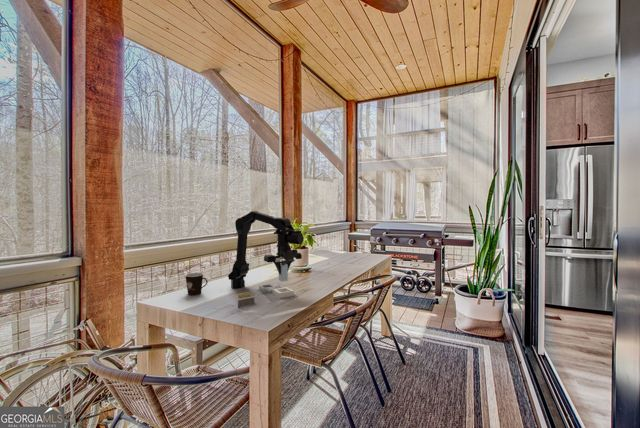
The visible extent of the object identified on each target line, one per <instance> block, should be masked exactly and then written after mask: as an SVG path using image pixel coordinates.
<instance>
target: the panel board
mask: <svg viewBox="0 0 640 428" xmlns="http://www.w3.org/2000/svg"><path fill="white" fill-rule="evenodd" d="M274 287H275V289H278V288H283V287H282V286H280V285H277V286H274ZM255 291H256V292H257V293H259V294H260V295H262V296H264V297H265V298H266V299H267V300H269V301H270V302H276V301H282V300H288V299H292V298H298V296H299V295H297V294H295V293H294V296H289V297H284V298H278V297H277V296H275V295H274V294H273V292H269V293H262V292H261V291H259V288H258V289H255Z"/></svg>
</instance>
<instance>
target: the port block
mask: <svg viewBox="0 0 640 428" xmlns="http://www.w3.org/2000/svg"><path fill="white" fill-rule="evenodd" d="M273 294H274V295H275V296H277V297H278V298H284V297H289V296H294V294H295V290H293V289H291V288H290V287H287V286H286V287H282V288H278V289H273Z"/></svg>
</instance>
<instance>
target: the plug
mask: <svg viewBox="0 0 640 428" xmlns="http://www.w3.org/2000/svg"><path fill="white" fill-rule="evenodd" d="M280 261H281V274H279V273H278V281H280V282H287V281H288V279H289V278H288V276H289V274H288V273H289V270H288V265H287V264H285V259H280Z"/></svg>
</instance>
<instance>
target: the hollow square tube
mask: <svg viewBox="0 0 640 428" xmlns="http://www.w3.org/2000/svg"><path fill="white" fill-rule="evenodd" d="M275 287H276V286H274V285H273V284H270V283H268V284H262V285H261V284H260V285H259V286H258V289H259V291H261V292H262V293H269V292H273V289H275Z"/></svg>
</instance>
